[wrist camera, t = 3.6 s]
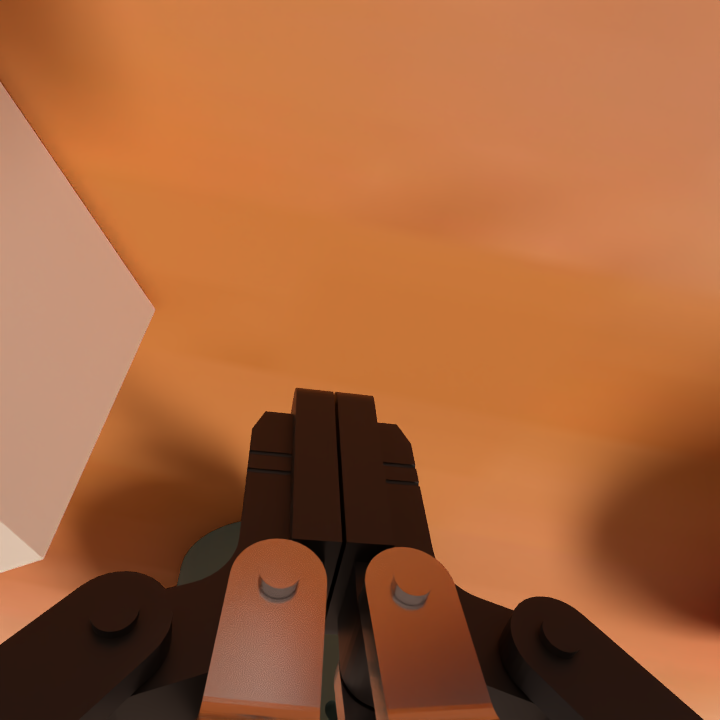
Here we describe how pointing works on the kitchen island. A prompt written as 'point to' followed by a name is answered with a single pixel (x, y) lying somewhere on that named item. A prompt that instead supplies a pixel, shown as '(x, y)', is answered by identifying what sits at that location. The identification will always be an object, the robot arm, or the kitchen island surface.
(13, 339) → the cream flat slab
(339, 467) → the robot arm
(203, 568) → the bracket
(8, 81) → the kitchen island surface
